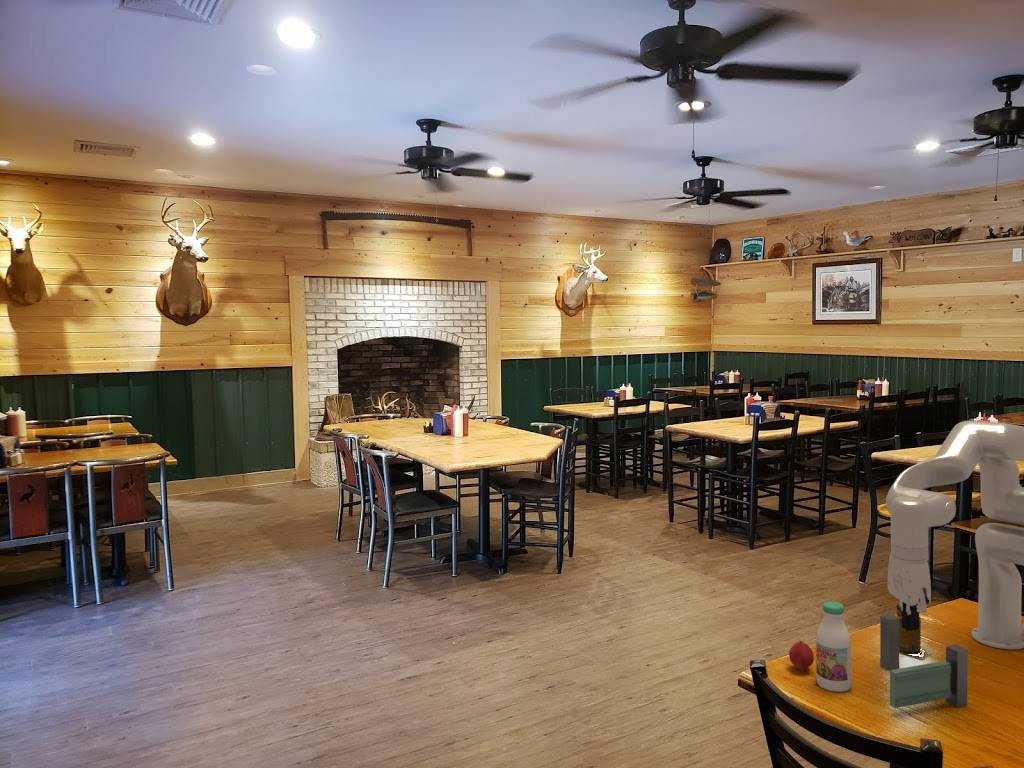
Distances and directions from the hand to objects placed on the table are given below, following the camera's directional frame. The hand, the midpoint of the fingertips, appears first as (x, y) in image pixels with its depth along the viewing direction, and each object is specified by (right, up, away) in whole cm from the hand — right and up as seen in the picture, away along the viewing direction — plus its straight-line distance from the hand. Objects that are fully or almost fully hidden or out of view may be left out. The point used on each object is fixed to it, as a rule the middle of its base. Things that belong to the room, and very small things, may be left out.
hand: (910, 628), depth 169 cm
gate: (0, -15, -5) cm, 16 cm away
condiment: (+13, -14, +24) cm, 31 cm away
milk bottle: (-14, -17, +8) cm, 23 cm away
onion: (-19, -16, +16) cm, 29 cm away
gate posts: (+6, -16, +7) cm, 18 cm away
